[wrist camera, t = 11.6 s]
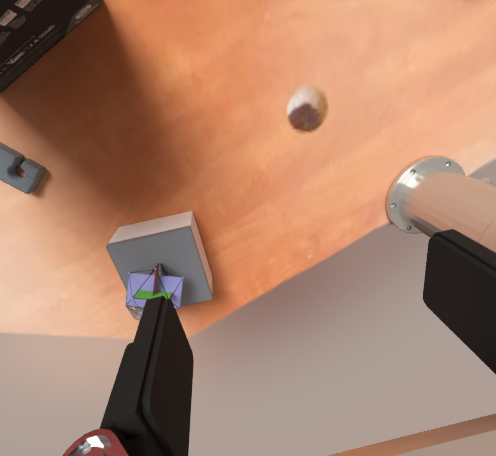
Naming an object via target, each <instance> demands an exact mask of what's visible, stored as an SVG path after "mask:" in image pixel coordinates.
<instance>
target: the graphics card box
mask: <svg viewBox="0 0 496 456" xmlns="http://www.w3.org/2000/svg"><path fill="white" fill-rule="evenodd" d="M102 2H103V0H0V93H1V92H2V91H3V90H4V89H6V88H7V87H8V86H9V85H10V84H11V83H12V82H13V81H15V80H16V79H17V78H18V77H19V76H20V75H21V74H23V73H24V72H25V71H26V70H27V69H28V68H30V67H31V66H32V65H33V64H34V63H35V62H36V61H37V60H38V59H40V58H41V57H42V56H43V55H44V54H45V53H46V52H48V51H49V50H50V49H51V48H52V47H53V46H54V45H56V44H57V43H58V42H59V41H60V40H61V39H62V38H63V37H64V36H66V35H67V34H68V33H69V32H70V31H71V30H72V29H74V28H75V27H76V26H77V25H78V24H79V23H81V22H82V21H83V20H84V19H85V18H86V17H87V16H88V15H89V14H91V13H92V12H93V11H94V10H95V9H96V8H97V7H98V6H99V5H100V4H101V3H102Z"/></svg>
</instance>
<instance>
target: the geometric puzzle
mask: <svg viewBox="0 0 496 456" xmlns="http://www.w3.org/2000/svg"><path fill="white" fill-rule="evenodd" d="M160 264H162V263H160V262H159V264H158V265H157V266H156V267H155V268H154V269H151V270H153V271H152V272H151V273H150V274H152V273H153V272H154V271H155V275H146V274H134V273H135V272H132V273H128V274H129V278H128V287H127V297H126V305H125V306H126V307H127V308H128V310H129V311H130V313H131V314H132V316H133V317H134V318H135V319H137V320H140V319H141V316H142V312H143V311H141V310H140V311H136V310H134V309H132V308H130V307H133V306H145V302H146V300H147V299H151V298H155V297H159V296H165V298H166V299H169V298H170V299H171V300H172V302H173V305H174V307H175V308H176V309H180V302H181V294H182V285H183V278H184V277H182V276H181V277H180V276H179V277H171V276H168V275H167V272H165V273H166V275H167V276H159V275H158V274H159V271H161V270H159V265H160ZM151 266H152V265H151ZM161 266H162V265H161ZM164 266H165V265H164ZM148 267H149V266H148ZM145 268H146V267H145ZM162 268H163V266H162ZM167 268H168V267H167ZM142 269H143V268H142ZM163 269H164V268H163ZM139 270H140V269H139ZM170 270H171V269H170ZM136 271H137V270H136ZM145 271H148V270H145ZM164 271H165V270H164ZM164 271H162V272H164ZM138 272H141V271H138ZM175 273H176V272H175ZM169 274H171V273H169ZM172 275H174V274H172ZM178 275H179V274H178ZM175 276H177V275H175ZM128 306H130V307H128ZM135 308H139V307H135ZM139 309H143V308H139Z"/></svg>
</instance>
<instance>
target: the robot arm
mask: <svg viewBox="0 0 496 456" xmlns="http://www.w3.org/2000/svg"><path fill="white" fill-rule="evenodd" d="M491 183H492V181H491V179H489V178H483V179H479V180H477V179H474V178H471V177H468V176H465V173H464V171H463V169H462V167H461V166H460V165H459V164H458V163H457V162H455V161H454V160H452V159H449V158H446V157H441V156H430V157H426V158H422V159H420V160H417V161H415V162H414V163H412V164H410V165H409V166H408V167H406V168H405V169H404V170H403V171H402V172H401V173H400V174H399V175H398V176H397V177H396V179H395V180H394V182H393V183H392V185H391V187H390V190H389V192H388V195H387V199H386V211H387V215H388V217H389V219H390V221H391V222H392V223H393V224H394V225H395V226H396V227H397V228H399V229H400V230H402V231H404V232H407V233H424V234H426V235H427V236H429V237H430V240H429V243H428V253H427V262H426V271H425V282H424V290H423V300H424V302H425V304H426V306H427V307H428V308H429V309H430V310H431V311H433V313H434V314H435V315H436V316H437V317H438V318H439V319H440V320H441V321H442V322H443V323H444V324H445V325H446V326H448V328H449V329H450V330H451V331H453V332H454V333H455V334H456V335H457V336H458V337H459V338H460V339H461V340H462V341H463V342H464V343H465V344H466V345H467V346H468V347H469V348H470V349H471V350H472V351H473V352H474V353H475V354H476V355H477V356H478V357H479V358H480V359H481V360H482V361H483V362H484V363H485V364H486V365H487V366H488V367H489V368H490V369H491V370H492V371H493V372H494V373H495V374H496V186H495V185H492V184H491ZM192 379H193V354H192V350H191V348H190V345H189V342H188V340H187V337H186V335H185V332H184V330H183V327H182V325H181V322H180V320H179V317H178V315H177V312H176V310H175V307H174V305H173V302H172V300H171V299H170V298H169V299H166V298H165V296H159V297H155V298H151V299H147V300H146V302H145V306H144V309H143V312H142V316H141V319H140V322H139V326H138V329H137V332H136V336H135V339H134V342H133V343H130V344H128V345H127V347H126V349H125V352H124V355H123V358H122V361H121V364H120V367H119V370H118V373H117V376H116V380H115V383H114V386H113V389H112V392H111V395H110V398H109V401H108V405H107V407H106V411H105V414H104V417H103V420H102V423H101V426H100V429H97V430H93V431H91V432H89V433H87V434H85V435H83V436H82V437H81V438H79V439H78V440H77V441H75V442H74V443H73V444H72V445H71V446H70V447H69V448H68V449H67V450H66V452H65V453H64V455H63V456H188V448H189V431H190V413H191V396H192ZM329 456H496V414H493V415H489V416H485V417H480V418H476V419H472V420H468V421H464V422H460V423H456V424H452V425H448V426H444V427H440V428H436V429H432V430H428V431H424V432H420V433H416V434H412V435H408V436H404V437H400V438H396V439H392V440H388V441H384V442H380V443H377V444H372V445H368V446H364V447H360V448H356V449H352V450H348V451H344V452H341V453H337V454H333V455H329Z"/></svg>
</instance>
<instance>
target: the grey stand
mask: <svg viewBox="0 0 496 456" xmlns="http://www.w3.org/2000/svg"><path fill="white" fill-rule="evenodd" d="M106 248H107V250H108V253H109V255H110V257H111V259H112V261H113V263H114V265H115V267H116V269H117V271H118V273H119V276H120V278H121V280H122V282H123V284H124V286H125V288H126V290H127V287H128V278H129V274H128V273H132V272H135V273H134V274H146V275H155V271H154V272H153V273H152V274H150V273H151V272H152V271H153V270H151V269H154V268H155V267H156V266H157V265H158V264H159V262H160V263H162V264H160V265H159V270H161V271H159V274H158V275H159V276H167V275H168V276H171V277H179V276H180V277H181V276H182V277H184V278H183V285H182V294H181V302H180V307H181V306H186V305H190V304H194V303H198V302H203V301H207V300H211V299H212V274H211V271H210V267H209V264H208V261H207V257H206V254H205V251H204V247H203V244H202V241H201V237H200V234H199V231H198V227H197V224H196V221H195V217H194V214H193V211H188V212H184V213H179V214H175V215H170V216H166V217H161V218H157V219H152V220H148V221H143V222H139V223H134V224H130V225H125V226H121V227H119V228H118V229H117V231H116V232H115V234H114V235H113V237H112V238H111V240H110V241H109V243H108V244H107V246H106ZM151 265H152V266H151ZM161 265H162V266H163V268H164V269H163V268H162V266H161ZM164 265H165V266H164ZM148 266H149V267H148ZM145 267H146V268H145ZM167 267H168V268H167ZM142 268H143V269H142ZM139 269H140V270H139ZM170 269H171V270H170ZM136 270H137V271H136ZM145 270H148V271H145ZM164 270H165V271H164ZM138 271H141V272H138ZM162 271H164V272H162ZM165 272H167V275H166V273H165ZM175 272H176V273H175ZM169 273H171V274H169ZM172 274H174V275H172ZM178 274H179V275H178ZM175 275H177V276H175ZM134 307H139V308H143V309H144V306H134ZM139 308H135V309H136V311H140V310H141V311H143V309H139Z"/></svg>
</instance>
